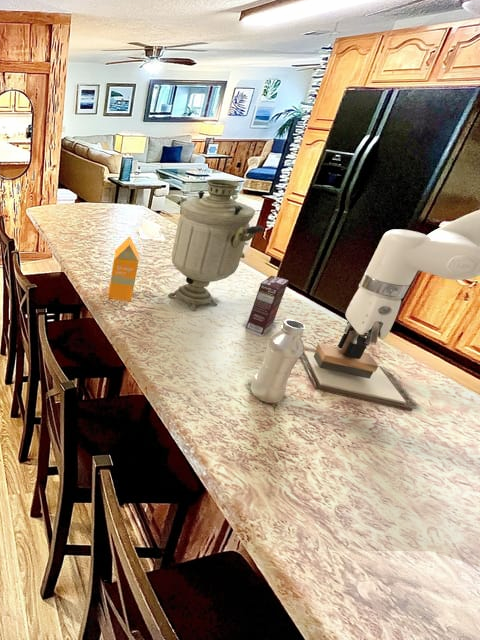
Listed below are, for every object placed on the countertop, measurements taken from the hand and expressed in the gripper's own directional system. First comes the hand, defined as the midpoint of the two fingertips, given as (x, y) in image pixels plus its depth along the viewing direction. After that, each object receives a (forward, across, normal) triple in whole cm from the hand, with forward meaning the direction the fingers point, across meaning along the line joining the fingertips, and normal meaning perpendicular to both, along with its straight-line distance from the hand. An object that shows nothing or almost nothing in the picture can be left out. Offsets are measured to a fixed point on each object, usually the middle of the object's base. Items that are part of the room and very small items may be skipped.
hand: (348, 352), depth 94 cm
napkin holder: (+8, +95, +48) cm, 107 cm away
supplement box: (+8, +17, +14) cm, 24 cm away
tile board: (+7, 0, -2) cm, 8 cm away
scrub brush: (+5, 0, 0) cm, 5 cm away
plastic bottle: (+8, -16, +18) cm, 26 cm away
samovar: (+8, +29, +30) cm, 42 cm away
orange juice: (+8, +23, +56) cm, 61 cm away
